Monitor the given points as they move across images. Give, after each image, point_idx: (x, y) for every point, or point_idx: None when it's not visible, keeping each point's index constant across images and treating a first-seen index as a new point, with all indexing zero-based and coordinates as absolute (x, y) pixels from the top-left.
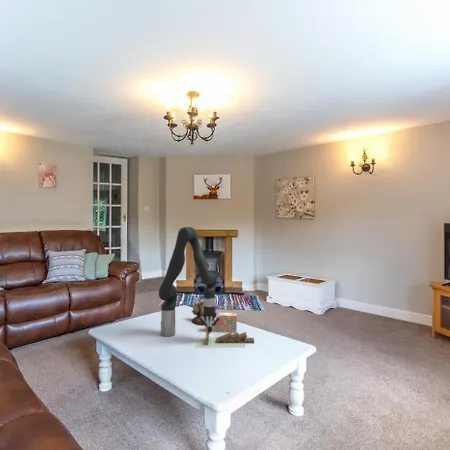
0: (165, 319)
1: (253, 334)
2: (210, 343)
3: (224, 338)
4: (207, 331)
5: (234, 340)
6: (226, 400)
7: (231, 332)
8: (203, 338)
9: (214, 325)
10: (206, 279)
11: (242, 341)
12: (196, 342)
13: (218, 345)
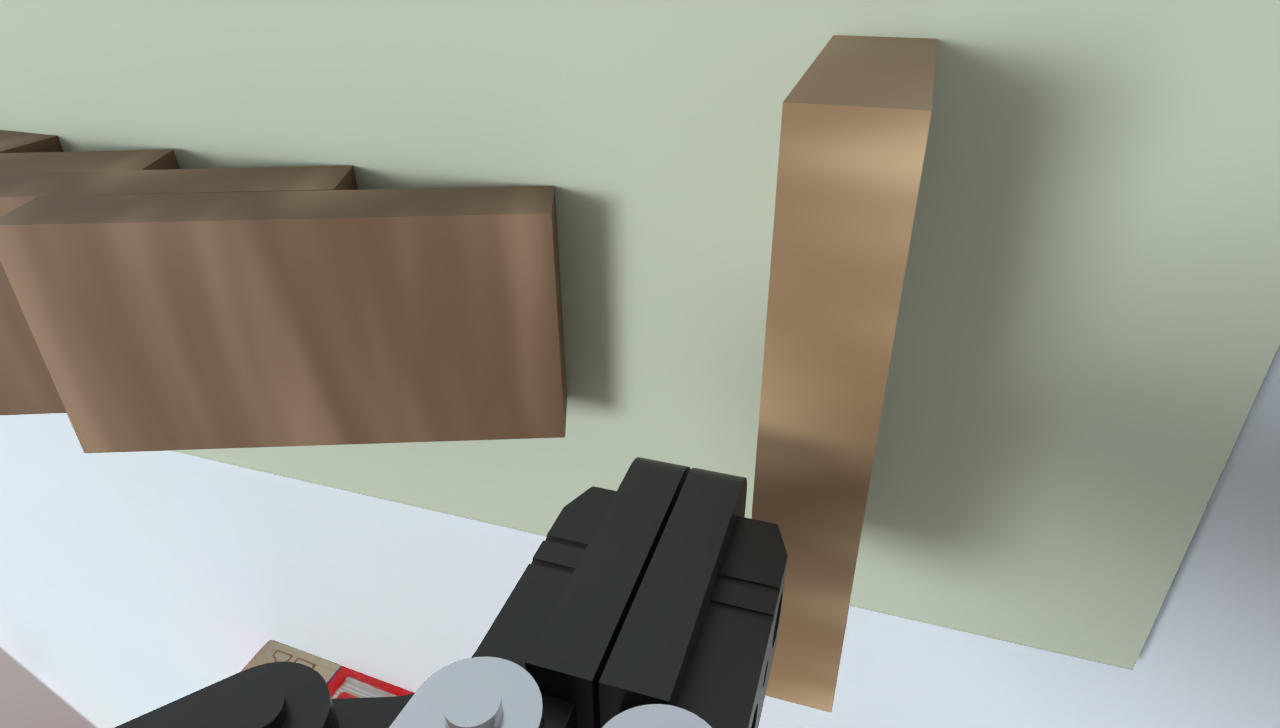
0: None
1: (9, 533)
2: (750, 197)
3: (251, 210)
4: (795, 698)
5: (58, 162)
6: None
7: (333, 681)
8: (946, 582)
9: (244, 675)
10: None
11: None
12: (1268, 346)
13: (488, 2)
